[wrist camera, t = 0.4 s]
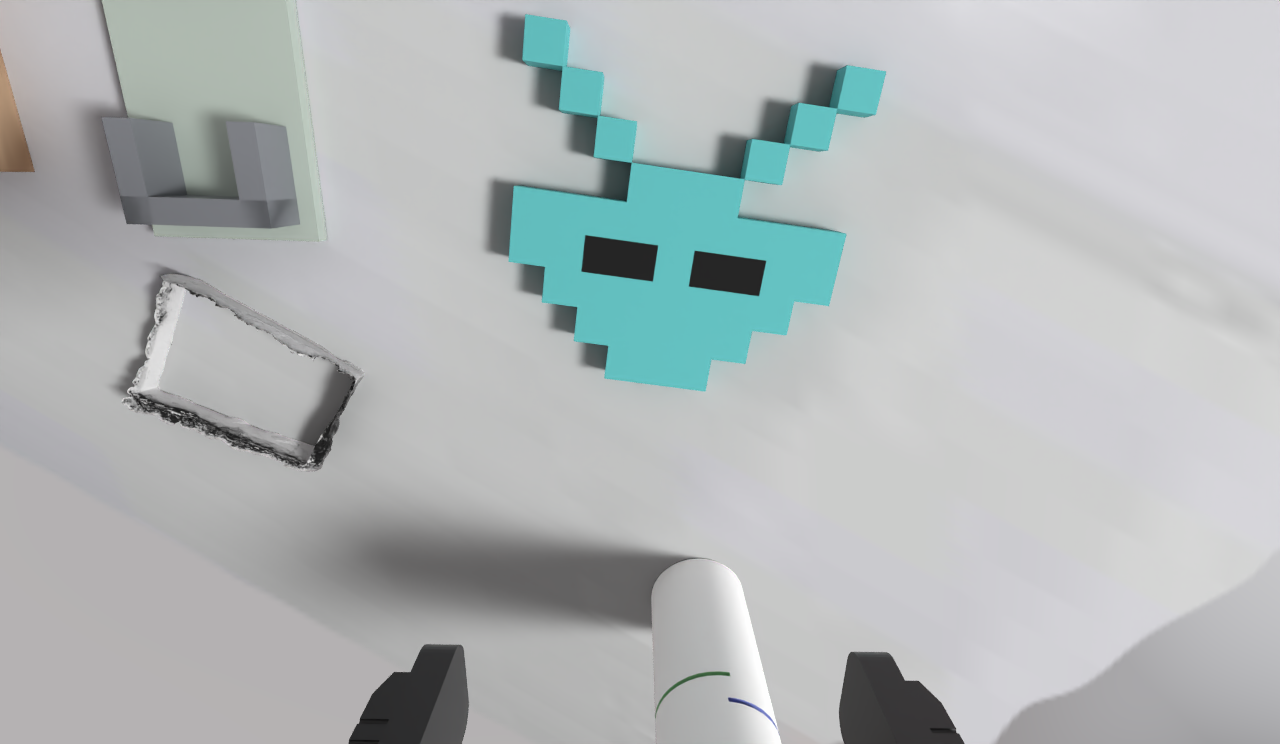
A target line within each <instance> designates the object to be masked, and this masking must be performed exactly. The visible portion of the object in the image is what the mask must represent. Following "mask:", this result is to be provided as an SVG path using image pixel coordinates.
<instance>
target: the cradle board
mask: <svg viewBox="0 0 1280 744" xmlns="http://www.w3.org/2000/svg"><path fill="white" fill-rule="evenodd" d="M102 4H103V9H104V13H105V17H106V22H107V26H108V31H109V35H110V40H111V44H112V49H113V53H114V57H115V62H116V66H117V71H118V75H119V80H120V84H121V89H122V93H123V98H124V102H125V106H126V111H127V115H128V118H135V119H144V120H153V121H162V122H171V123H173V127H174V132H175V137H176V142H177V147H178V152H179V157H180V162H181V167H182V171H183V176H184V181H185V186H186V191H187V195H201V196H231V197H239V195H238V189H237V184H236V178H235V172H234V167H233V161H232V155H231V150H230V144H229V138H228V133H227V127H226V121H232V122H256V123H263V124H270V125H277V126H285V127H286V129H287V136H288V143H289V150H290V157H291V163H292V170H293V177H294V184H295V191H296V197H297V204H298V211H299V218H300V225H293V226H286V227H279V228H272V229H267V228H236V227H206V226H175V225H152V227H153V231H154V236H160V237H191V238H222V239H253V240H283V241H314V242H320V241H325V240H327V233H326V225H325V218H324V210H323V203H322V195H321V188H320V180H319V173H318V165H317V158H316V150H315V143H314V135H313V128H312V120H311V113H310V105H309V98H308V90H307V83H306V75H305V68H304V60H303V53H302V45H301V38H300V30H299V23H298V16H297V8H296V1H295V0H102Z"/></svg>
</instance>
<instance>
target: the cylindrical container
mask: <svg viewBox="0 0 1280 744" xmlns="http://www.w3.org/2000/svg"><path fill="white" fill-rule="evenodd" d="M651 607H652V637H653V668H654V699H655V732H656V744H781V740H780V737H779V732H778V728H777V724H776V720H775V716H774V712H773V708H772V704H771V700H770V696H769V692H768V688H767V684H766V680H765V676H764V673H763V669H762V665H761V661H760V657H759V653H758V649H757V645H756V641H755V637H754V633H753V629H752V625H751V621H750V617H749V613H748V609H747V605H746V601H745V597H744V593H743V589H742V586H741V583H740V581H739V579H738V578H737V576H736V575H735V574H734V573H733V572H732V571H731V570H730V569H729V568H728V567H726V566H725V565H723V564H721V563H719V562H716V561H713V560H709V559H699V558H697V559H688V560H684V561H681V562H678V563H676V564H674V565H672V566H670V567H669V568H667V569H666V570H665V571H664V572H663V573H662V574H661V575H660V576H659V577H658V579H657V580H656V582H655V583H654V586H653V589H652V595H651Z"/></svg>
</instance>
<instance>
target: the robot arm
mask: <svg viewBox="0 0 1280 744" xmlns="http://www.w3.org/2000/svg"><path fill="white" fill-rule="evenodd" d="M468 707H469V701H468V689H467V679H466V668H465V658H464V650H463V647H462V645H432V644H426V645H424V646H423V647H422V649H421V650H420V652H419V655H418V657H417V659H416V661H415V663H414V666H413V668H412V670H411V672H394V673H393V674H392V675H391V676H390V677H389V678H388V679H387V680H386V681H385V682H384V683H383V684H382V685H381V686H380V687H379V688H378V689H377V690H376V691H375V692H374V693H373V694H372V696H371V698H370V700H369V702H368V704H367V706H366V708H365V710H364V712H363V714H362V716H361V718H360V722H359V724H357V726H356V727H355V729H354V731H353V733H352V735H351V737H350V739H349V744H462V741H463V737H464V733H465V730H466V725H467V718H468ZM839 720H840V728H841V733H842V738H843V741H844V744H964V742H963V740H962V738H961V737H960V735H959V734H957V733H956V728H955V726H954V724H953V723H952V721H951V719H950V717H949V716H948V714H947V712H946V710H945V709H944V707H943V705H942V703H941V702H940V701H939V700H938V699H937V698H936V697H935V696H934V695H933V694H932V693H931V692H929V691H928V690H927V689H926V688H925V687H924V686H923V685H922V684H921V683H920V682H919V681H905V680H904V678H903V676H902V674H901V672H900V670H899V668H898V667H897V665H896V663H895V661H894V659H893V657H892V656H891V655H890V654H889V653H887V652H851V653H850V654H849V656H848V659H847V665H846V671H845V677H844V683H843V688H842V694H841V700H840V707H839Z"/></svg>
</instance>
